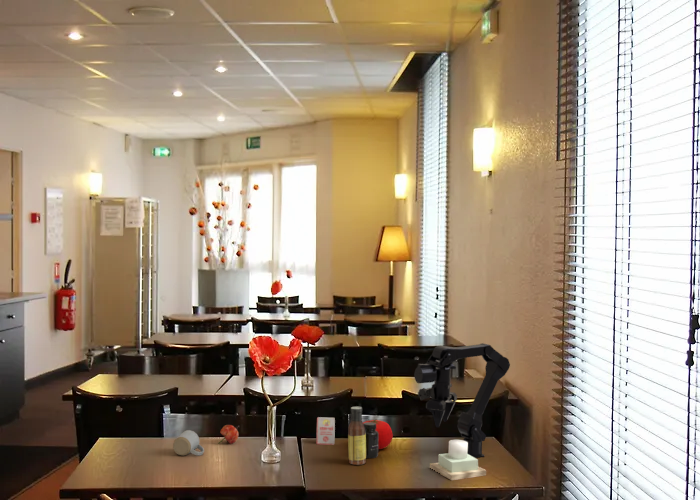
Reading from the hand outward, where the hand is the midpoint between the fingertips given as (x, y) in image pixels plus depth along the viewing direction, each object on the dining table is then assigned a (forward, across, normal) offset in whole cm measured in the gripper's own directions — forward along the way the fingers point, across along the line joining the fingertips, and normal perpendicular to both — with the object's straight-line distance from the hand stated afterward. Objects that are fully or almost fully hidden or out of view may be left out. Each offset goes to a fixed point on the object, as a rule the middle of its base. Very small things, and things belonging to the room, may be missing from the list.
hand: (441, 424), depth 287 cm
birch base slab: (+14, +10, +10) cm, 20 cm away
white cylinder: (+8, +10, +9) cm, 16 cm away
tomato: (+13, -3, -27) cm, 31 cm away
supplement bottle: (+13, +8, -25) cm, 29 cm away
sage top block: (+11, +10, +10) cm, 18 cm away
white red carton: (+13, 0, -46) cm, 48 cm away
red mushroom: (+13, +17, -79) cm, 82 cm away
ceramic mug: (+13, +35, -84) cm, 93 cm away
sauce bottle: (+13, +18, -25) cm, 34 cm away
